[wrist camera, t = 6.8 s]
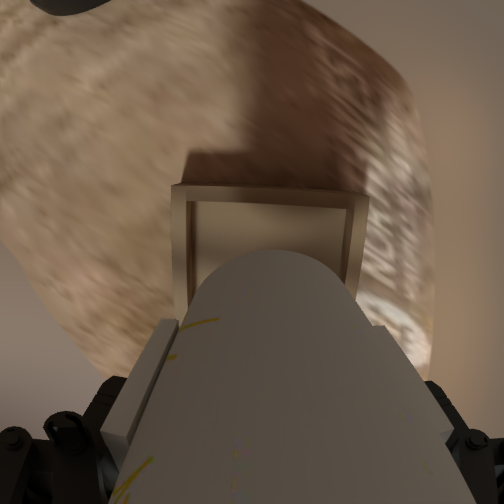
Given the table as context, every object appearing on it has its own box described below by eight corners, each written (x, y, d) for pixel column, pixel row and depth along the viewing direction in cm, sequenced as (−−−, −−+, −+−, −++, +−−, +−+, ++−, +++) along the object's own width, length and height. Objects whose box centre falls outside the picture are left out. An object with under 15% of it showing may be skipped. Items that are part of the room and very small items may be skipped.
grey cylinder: (178, 252, 13) (1, 495, 2) (361, 246, 13) (564, 452, 2) (198, 394, 16) (155, 598, 4) (344, 388, 15) (406, 584, 4)
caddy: (180, 183, 22) (171, 185, 19) (358, 192, 22) (369, 196, 19) (191, 418, 28) (187, 435, 26) (317, 422, 28) (320, 439, 26)
